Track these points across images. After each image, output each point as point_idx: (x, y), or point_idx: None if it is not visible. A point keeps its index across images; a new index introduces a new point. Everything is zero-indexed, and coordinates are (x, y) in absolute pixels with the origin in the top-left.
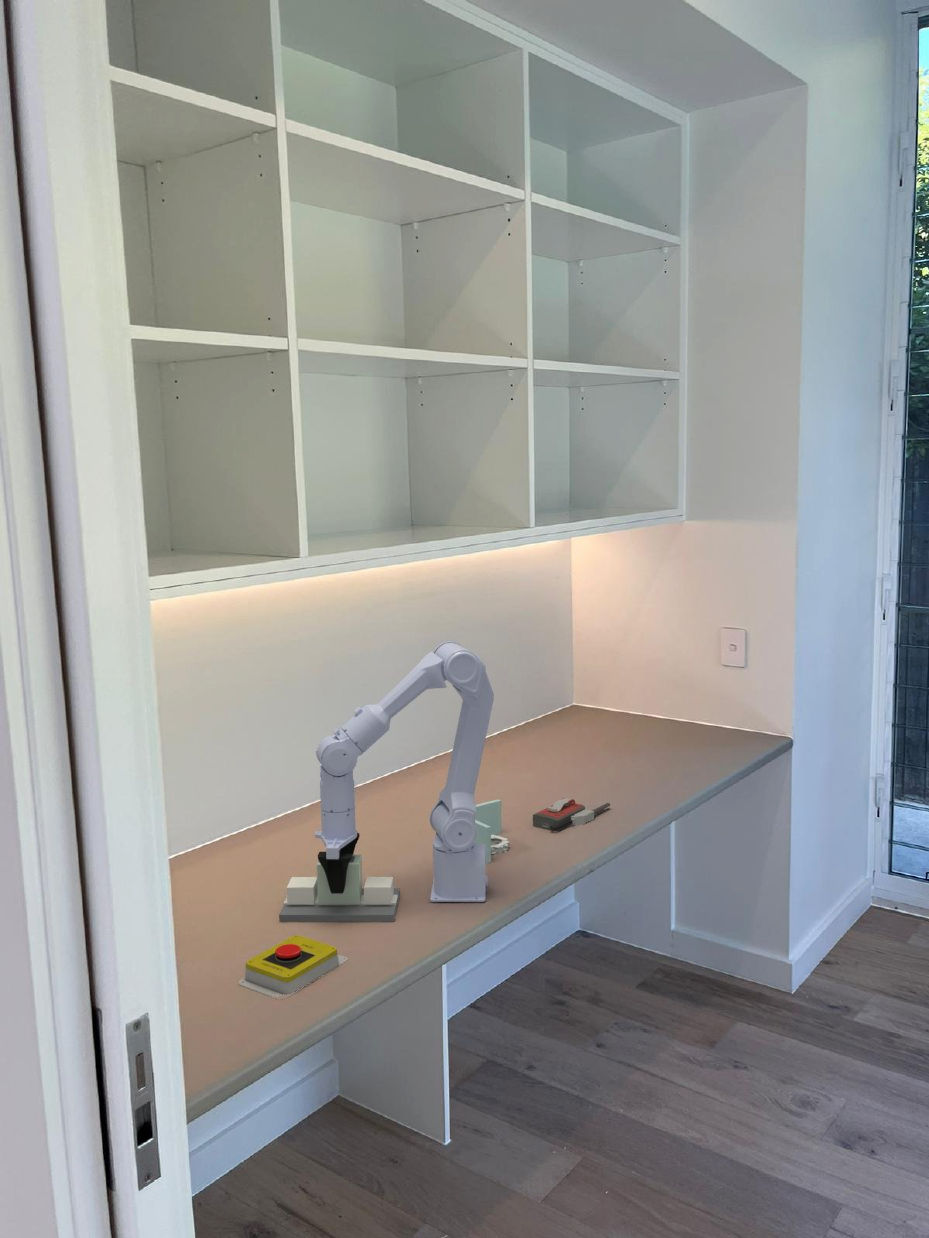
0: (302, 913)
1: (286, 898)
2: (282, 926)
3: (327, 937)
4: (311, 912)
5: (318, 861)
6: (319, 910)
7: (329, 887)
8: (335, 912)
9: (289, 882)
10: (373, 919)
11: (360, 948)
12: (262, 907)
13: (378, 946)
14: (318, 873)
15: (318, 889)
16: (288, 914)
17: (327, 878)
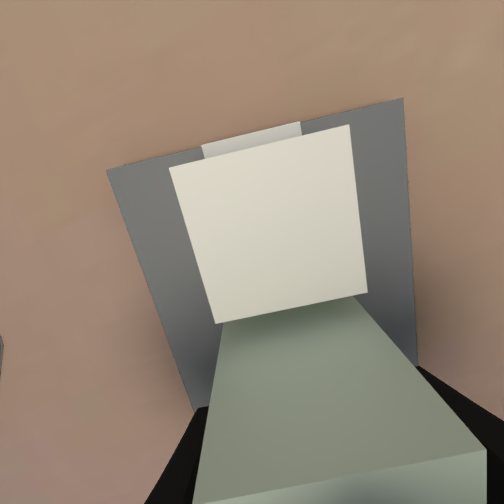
0: (152, 262)
1: (256, 135)
2: (90, 201)
3: (78, 371)
4: (173, 290)
5: (289, 486)
6: (198, 311)
7: (185, 432)
8: (198, 367)
9: (252, 150)
10: None
11: (56, 463)
12: (230, 19)
13: (86, 492)
14: (210, 425)
15: (221, 342)
16: (123, 210)
17: (148, 498)
